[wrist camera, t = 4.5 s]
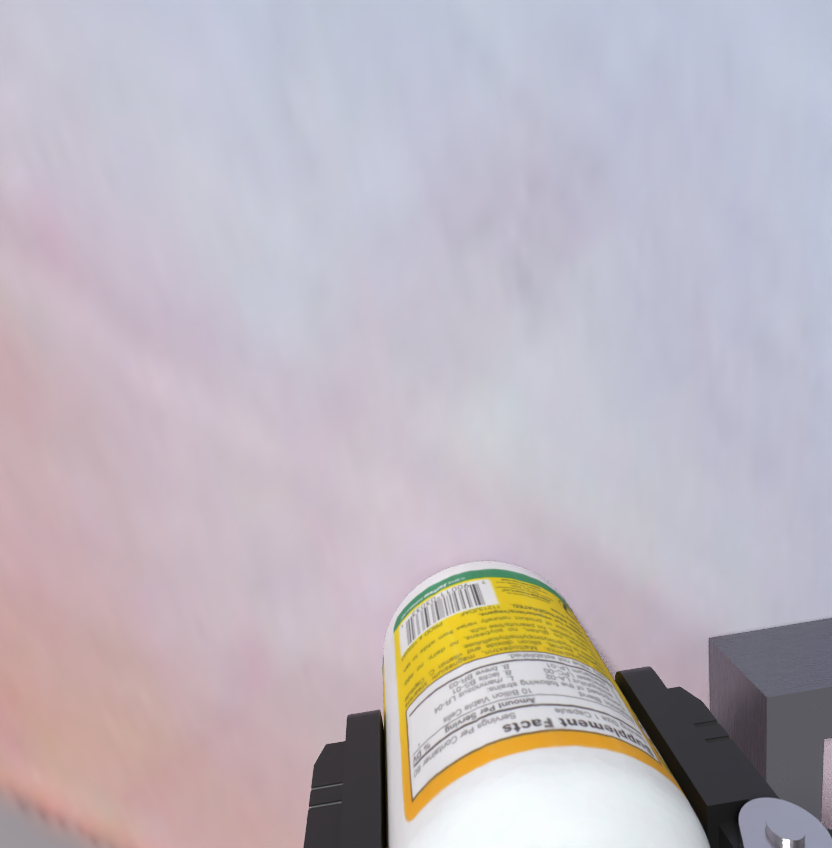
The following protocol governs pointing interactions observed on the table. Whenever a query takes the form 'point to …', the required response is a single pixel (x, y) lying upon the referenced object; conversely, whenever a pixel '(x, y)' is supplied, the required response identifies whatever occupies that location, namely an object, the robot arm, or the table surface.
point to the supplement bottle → (514, 726)
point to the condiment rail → (777, 703)
